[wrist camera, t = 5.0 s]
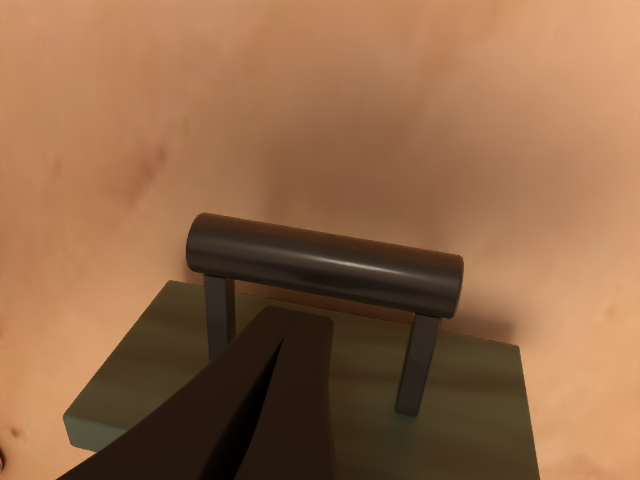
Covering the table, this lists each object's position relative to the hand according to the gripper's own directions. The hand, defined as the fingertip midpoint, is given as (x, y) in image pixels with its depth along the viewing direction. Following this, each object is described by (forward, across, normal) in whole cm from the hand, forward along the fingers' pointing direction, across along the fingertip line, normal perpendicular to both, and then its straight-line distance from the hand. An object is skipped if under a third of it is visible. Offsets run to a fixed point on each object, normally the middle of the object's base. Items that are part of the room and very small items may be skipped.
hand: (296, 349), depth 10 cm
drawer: (+5, 0, +8) cm, 9 cm away
